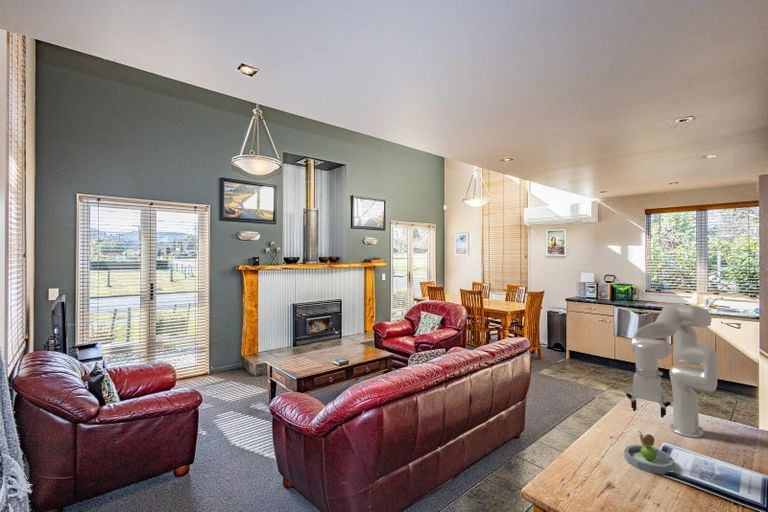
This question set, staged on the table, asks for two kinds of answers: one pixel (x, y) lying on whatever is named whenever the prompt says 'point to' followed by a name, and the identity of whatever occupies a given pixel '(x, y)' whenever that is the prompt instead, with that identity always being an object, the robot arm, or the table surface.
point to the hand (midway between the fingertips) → (648, 413)
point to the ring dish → (652, 466)
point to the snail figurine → (647, 446)
